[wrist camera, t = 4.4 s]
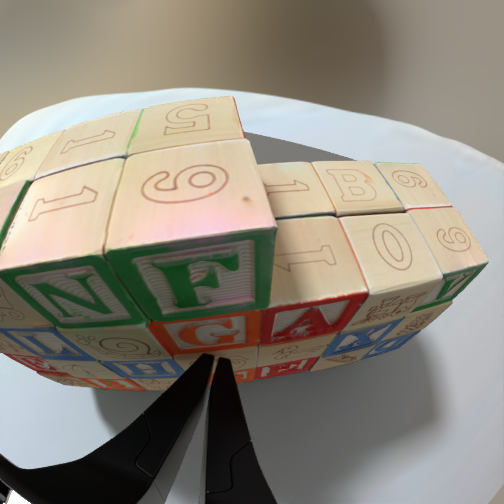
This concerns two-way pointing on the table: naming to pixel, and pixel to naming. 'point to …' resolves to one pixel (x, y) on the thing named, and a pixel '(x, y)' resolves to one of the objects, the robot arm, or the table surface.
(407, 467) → the table surface
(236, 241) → the stack of blocks
